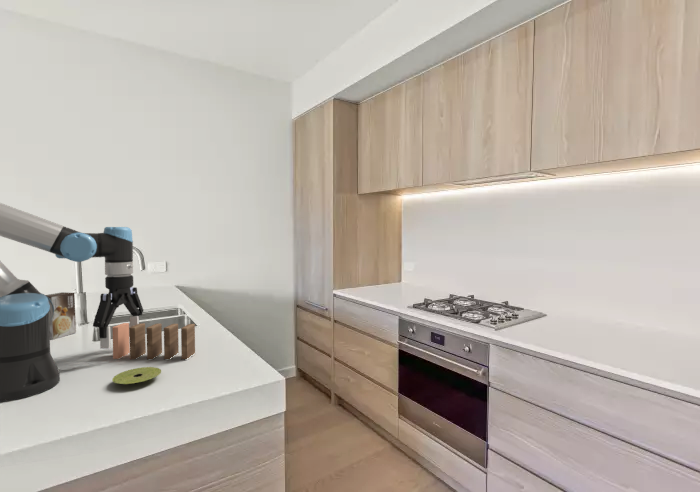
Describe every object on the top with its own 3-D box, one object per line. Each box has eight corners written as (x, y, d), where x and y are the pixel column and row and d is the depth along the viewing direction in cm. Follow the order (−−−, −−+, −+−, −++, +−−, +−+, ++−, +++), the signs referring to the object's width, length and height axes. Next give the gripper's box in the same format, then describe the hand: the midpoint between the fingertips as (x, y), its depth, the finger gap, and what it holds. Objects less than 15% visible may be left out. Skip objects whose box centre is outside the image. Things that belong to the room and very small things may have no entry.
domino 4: (178, 354, 117) (178, 323, 117) (169, 359, 112) (169, 328, 112) (173, 354, 117) (172, 323, 117) (164, 359, 112) (163, 328, 112)
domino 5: (195, 354, 117) (194, 324, 117) (187, 360, 112) (186, 328, 111) (189, 354, 117) (189, 323, 117) (181, 360, 112) (181, 328, 112)
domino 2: (145, 353, 118) (145, 323, 117) (135, 359, 113) (134, 327, 112) (140, 353, 118) (139, 323, 117) (130, 359, 113) (129, 327, 112)
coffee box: (63, 332, 143) (62, 291, 142) (76, 333, 142) (75, 292, 141) (39, 338, 134) (37, 295, 133) (53, 339, 133) (51, 296, 132)
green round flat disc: (111, 394, 88) (111, 387, 88) (112, 379, 97) (112, 371, 97) (163, 384, 94) (163, 377, 94) (159, 370, 103) (159, 363, 103)
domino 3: (162, 353, 117) (161, 323, 117) (152, 359, 112) (152, 327, 112) (156, 353, 118) (156, 323, 117) (147, 359, 112) (146, 327, 112)
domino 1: (129, 353, 118) (128, 323, 118) (118, 358, 113) (117, 327, 112) (124, 353, 118) (123, 323, 118) (113, 358, 113) (112, 327, 113)
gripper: (102, 280, 102) (104, 354, 103) (153, 271, 127) (155, 330, 127) (76, 280, 102) (78, 354, 103) (133, 271, 127) (134, 330, 128)
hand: (120, 341), depth 115 cm, fingers open, 13 cm apart
